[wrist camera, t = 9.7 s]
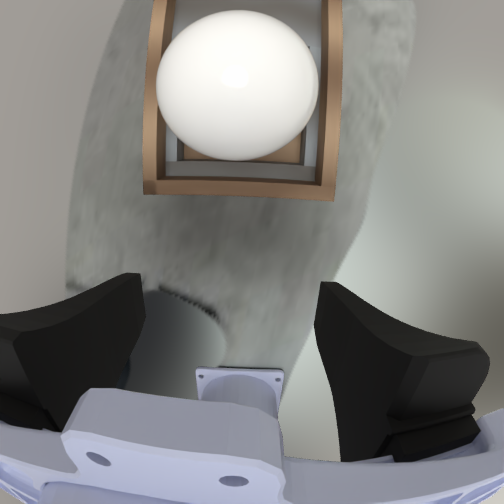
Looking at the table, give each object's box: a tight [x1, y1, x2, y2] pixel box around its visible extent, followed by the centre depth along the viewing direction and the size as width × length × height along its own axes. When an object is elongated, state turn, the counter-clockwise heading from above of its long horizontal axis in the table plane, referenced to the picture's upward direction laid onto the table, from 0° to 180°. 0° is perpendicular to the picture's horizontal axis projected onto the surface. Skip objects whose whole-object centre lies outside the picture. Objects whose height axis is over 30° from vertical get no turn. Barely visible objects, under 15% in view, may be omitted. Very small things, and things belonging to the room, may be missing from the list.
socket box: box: [143, 0, 343, 202], centre depth 16 cm, size 14×11×4 cm
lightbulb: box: [156, 10, 319, 161], centre depth 13 cm, size 6×6×11 cm
